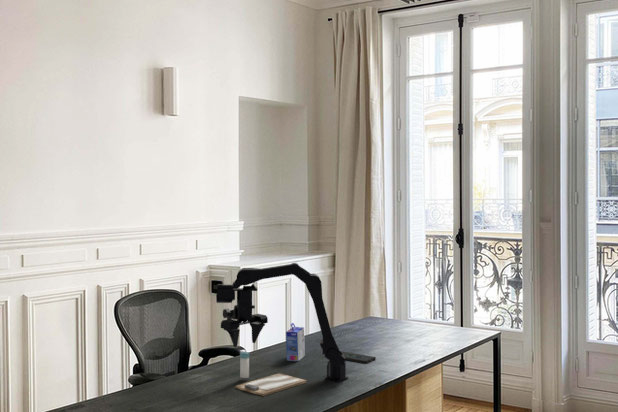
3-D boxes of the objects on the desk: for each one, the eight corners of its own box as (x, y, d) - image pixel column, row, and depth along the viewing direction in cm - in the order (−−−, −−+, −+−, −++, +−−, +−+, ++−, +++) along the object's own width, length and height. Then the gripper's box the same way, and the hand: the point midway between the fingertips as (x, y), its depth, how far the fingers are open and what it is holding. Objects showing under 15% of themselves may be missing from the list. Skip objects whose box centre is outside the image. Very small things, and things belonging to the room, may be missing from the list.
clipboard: (306, 382, 252) (306, 377, 252) (263, 396, 235) (263, 390, 235) (279, 375, 261) (279, 370, 261) (235, 388, 245) (235, 383, 245)
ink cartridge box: (292, 355, 292) (292, 321, 292) (305, 356, 291) (305, 321, 290) (285, 360, 283) (285, 325, 282) (298, 361, 281) (298, 326, 281)
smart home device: (366, 360, 278) (324, 353, 290) (366, 365, 278) (324, 357, 290) (376, 356, 285) (335, 349, 297) (376, 360, 285) (335, 353, 297)
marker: (251, 380, 255) (251, 353, 255) (244, 381, 252) (244, 354, 252) (244, 378, 257) (244, 351, 257) (238, 380, 255) (238, 353, 254)
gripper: (248, 297, 266) (248, 337, 267) (210, 303, 252) (210, 345, 253) (268, 300, 259) (268, 342, 259) (231, 307, 245) (231, 350, 245)
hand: (244, 345), depth 254 cm, fingers open, 9 cm apart
